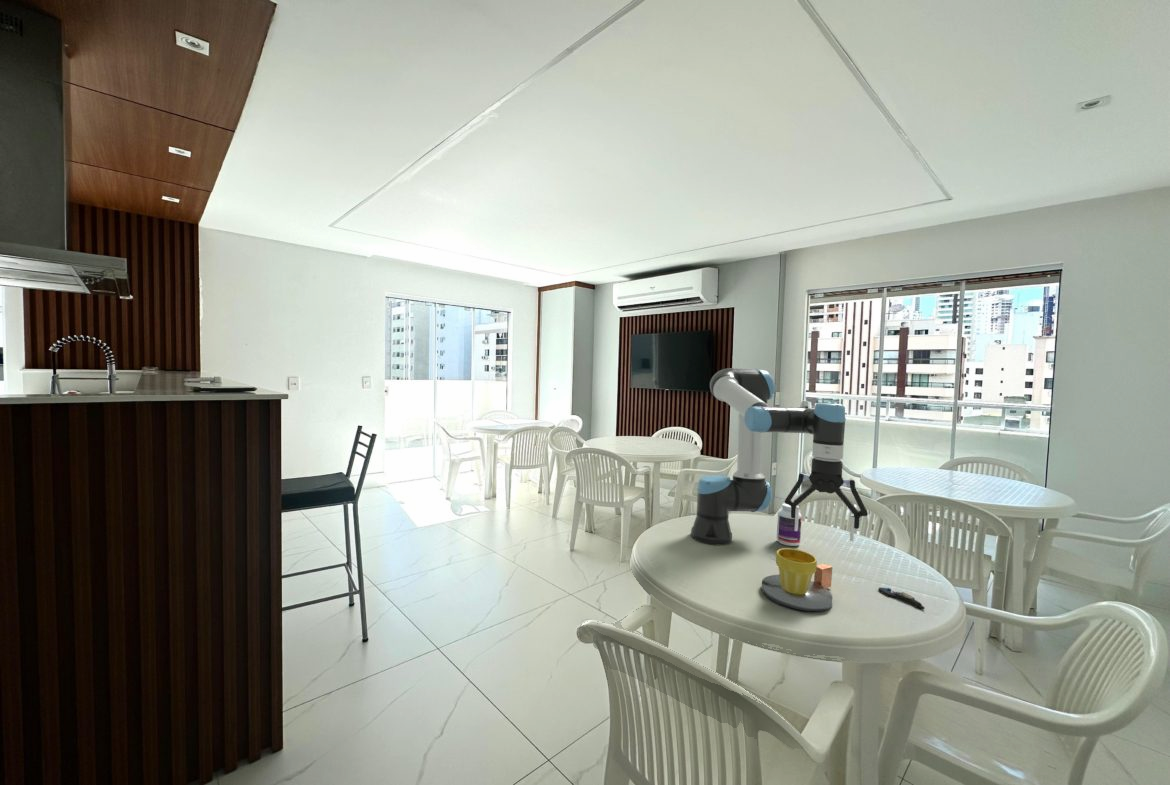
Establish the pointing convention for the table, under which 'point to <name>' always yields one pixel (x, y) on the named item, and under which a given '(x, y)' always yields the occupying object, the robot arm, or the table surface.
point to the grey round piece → (810, 601)
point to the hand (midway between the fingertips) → (823, 534)
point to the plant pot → (795, 569)
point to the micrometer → (901, 597)
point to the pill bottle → (788, 527)
